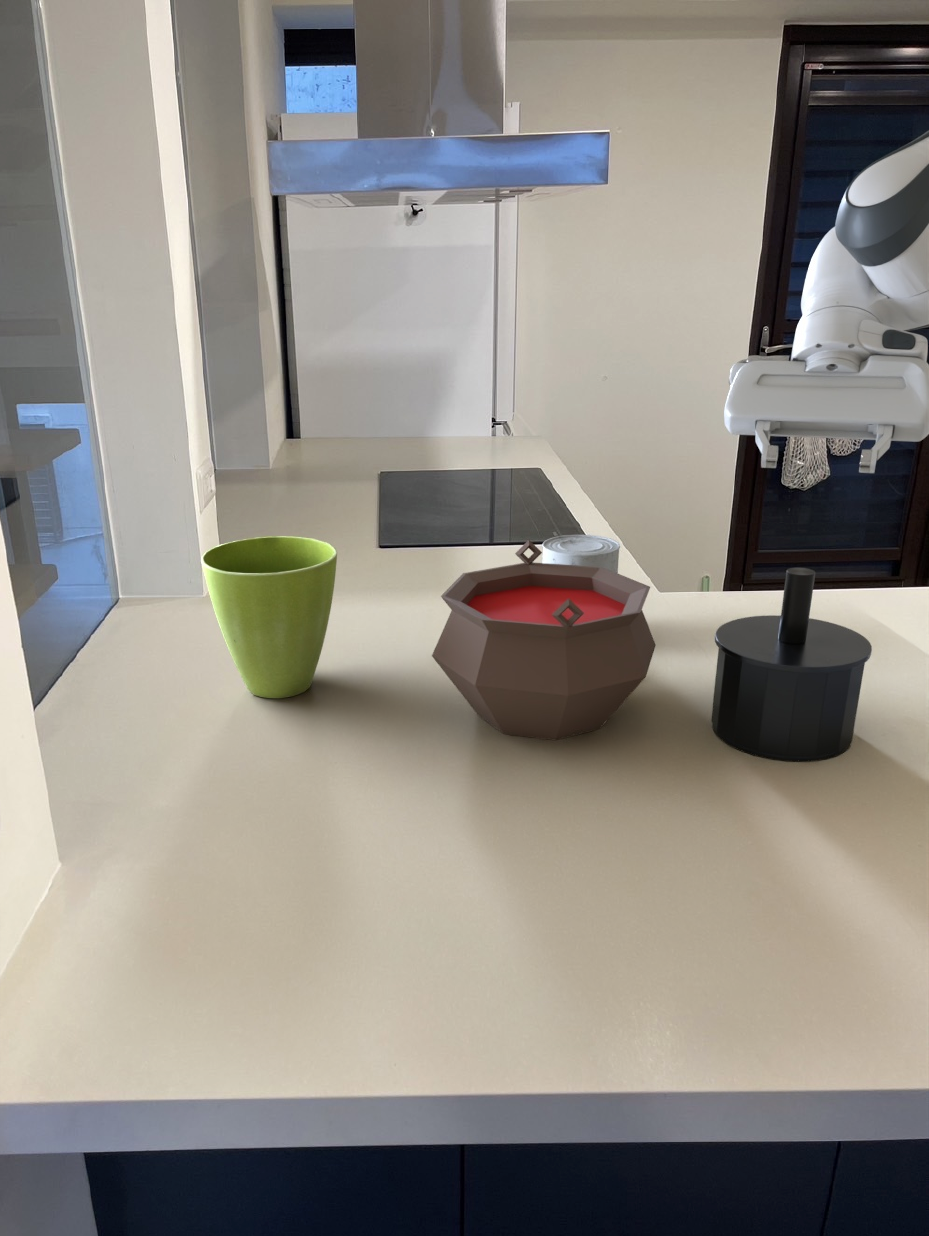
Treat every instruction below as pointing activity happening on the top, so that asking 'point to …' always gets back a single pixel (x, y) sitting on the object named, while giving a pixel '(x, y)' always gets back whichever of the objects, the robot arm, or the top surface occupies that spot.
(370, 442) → the top surface
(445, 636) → the brown cauldron
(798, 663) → the lid
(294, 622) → the flower pot
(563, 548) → the tin can
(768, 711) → the pot
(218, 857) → the top surface
